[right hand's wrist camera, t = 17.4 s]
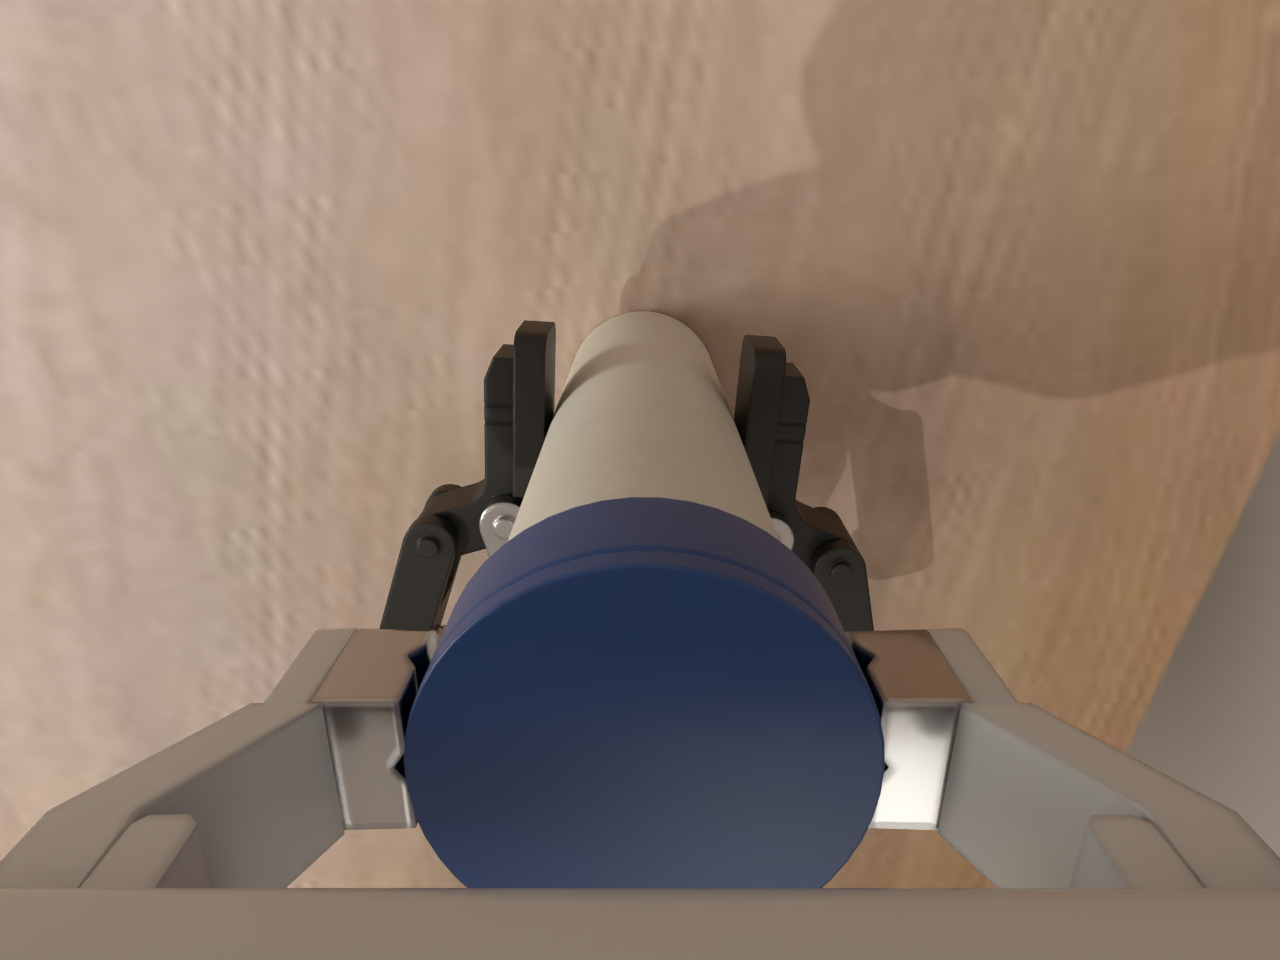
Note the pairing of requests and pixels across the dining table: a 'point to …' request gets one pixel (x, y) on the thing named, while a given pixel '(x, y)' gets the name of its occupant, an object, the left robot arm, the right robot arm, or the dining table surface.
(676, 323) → the white bottle
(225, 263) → the dining table surface
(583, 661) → the lid
